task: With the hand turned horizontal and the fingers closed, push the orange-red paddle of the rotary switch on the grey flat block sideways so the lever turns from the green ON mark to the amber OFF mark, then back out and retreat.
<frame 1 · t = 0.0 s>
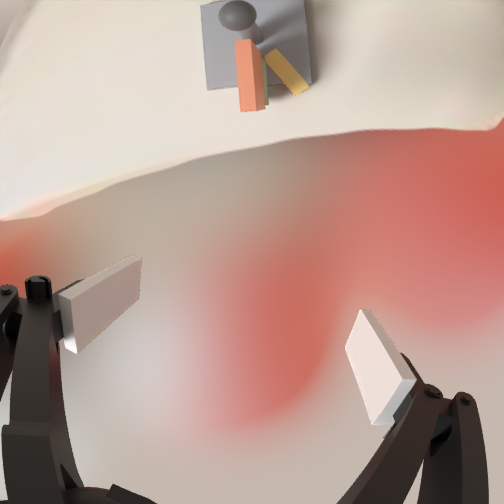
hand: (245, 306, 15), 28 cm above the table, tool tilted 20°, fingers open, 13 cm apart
lever: (248, 59, 24), point 8 cm above the table, hinge at 0.0°
grey flat block: (255, 40, 28), on the table
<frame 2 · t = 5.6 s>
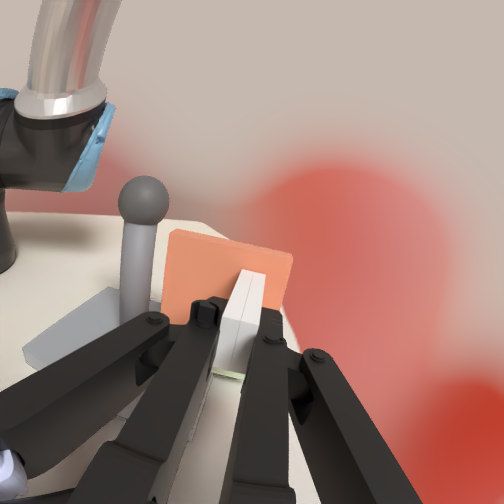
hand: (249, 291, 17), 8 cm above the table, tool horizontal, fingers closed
lever: (193, 277, 18), point 8 cm above the table, hinge at 2.4°, touching gripper
grey flat block: (134, 351, 20), on the table
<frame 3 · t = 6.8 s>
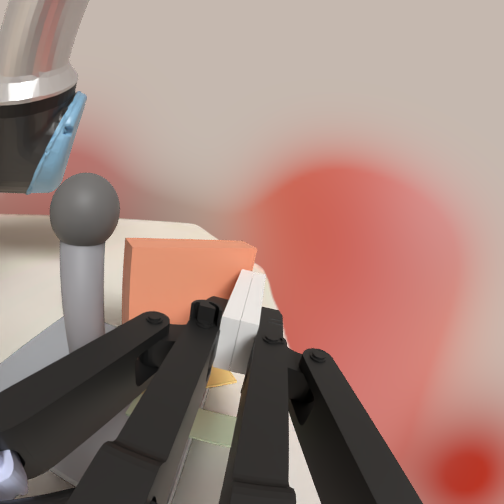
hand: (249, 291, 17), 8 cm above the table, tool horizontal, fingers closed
lever: (156, 292, 15), point 8 cm above the table, hinge at 43.9°, touching gripper
grey flat block: (96, 399, 14), on the table
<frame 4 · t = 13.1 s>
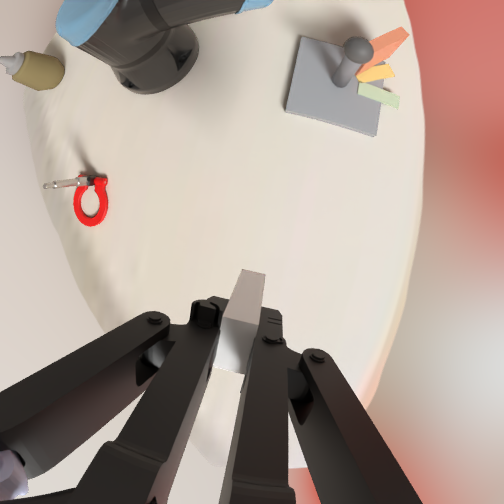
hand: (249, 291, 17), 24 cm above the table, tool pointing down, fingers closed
tow hook: (92, 200, 43), on the table
squeeze bottle: (56, 77, 37), on the table
lever: (371, 52, 26), point 8 cm above the table, hinge at 50.7°
grey flat block: (337, 84, 34), on the table
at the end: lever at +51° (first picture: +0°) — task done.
